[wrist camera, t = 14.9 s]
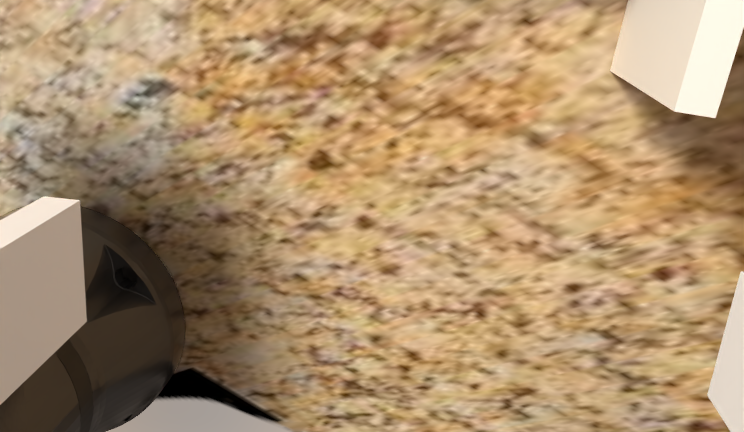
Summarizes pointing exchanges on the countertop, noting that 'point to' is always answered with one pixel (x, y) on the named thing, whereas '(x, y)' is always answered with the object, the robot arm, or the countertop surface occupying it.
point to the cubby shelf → (680, 51)
